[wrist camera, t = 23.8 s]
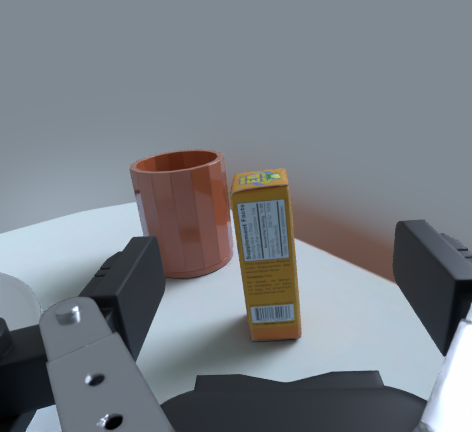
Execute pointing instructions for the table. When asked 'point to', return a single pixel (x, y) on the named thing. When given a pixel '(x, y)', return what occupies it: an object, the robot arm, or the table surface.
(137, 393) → the robot arm
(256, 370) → the table surface
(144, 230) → the cup
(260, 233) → the supplement box
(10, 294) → the white plate
